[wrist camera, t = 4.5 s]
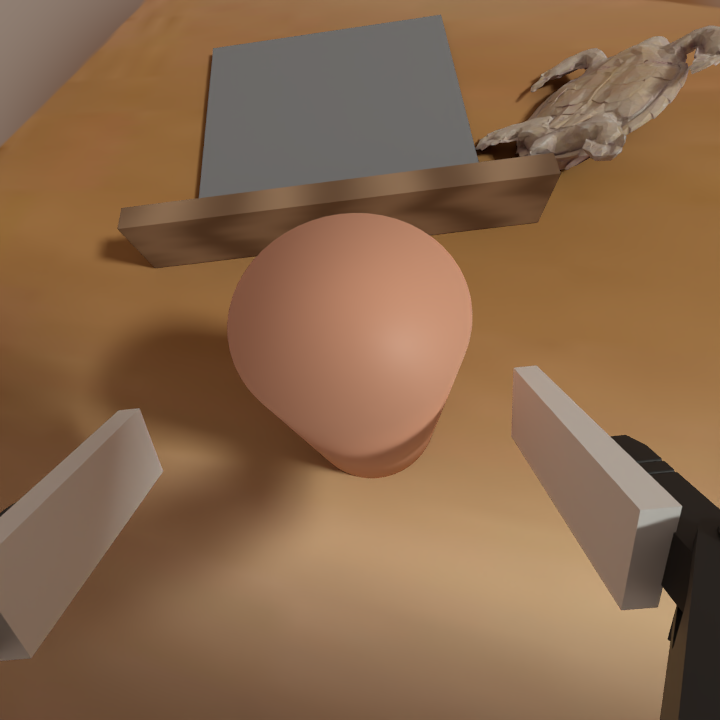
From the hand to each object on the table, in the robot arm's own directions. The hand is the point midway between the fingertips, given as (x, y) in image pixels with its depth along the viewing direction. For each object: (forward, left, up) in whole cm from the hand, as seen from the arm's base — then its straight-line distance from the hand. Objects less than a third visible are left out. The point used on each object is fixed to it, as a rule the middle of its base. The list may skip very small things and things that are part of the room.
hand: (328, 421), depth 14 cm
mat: (0, -27, -8) cm, 28 cm away
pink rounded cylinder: (-1, -2, -8) cm, 9 cm away
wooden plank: (0, -15, -8) cm, 17 cm away
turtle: (-18, -21, -9) cm, 29 cm away
